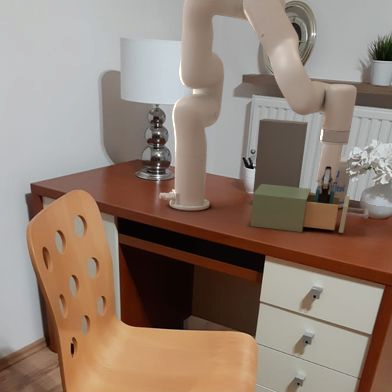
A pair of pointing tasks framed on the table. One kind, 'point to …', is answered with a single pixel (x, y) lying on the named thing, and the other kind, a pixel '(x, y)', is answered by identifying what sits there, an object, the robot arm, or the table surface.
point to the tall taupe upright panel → (279, 153)
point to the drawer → (328, 213)
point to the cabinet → (279, 207)
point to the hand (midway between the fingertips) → (323, 205)
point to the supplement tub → (341, 181)
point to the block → (330, 193)
